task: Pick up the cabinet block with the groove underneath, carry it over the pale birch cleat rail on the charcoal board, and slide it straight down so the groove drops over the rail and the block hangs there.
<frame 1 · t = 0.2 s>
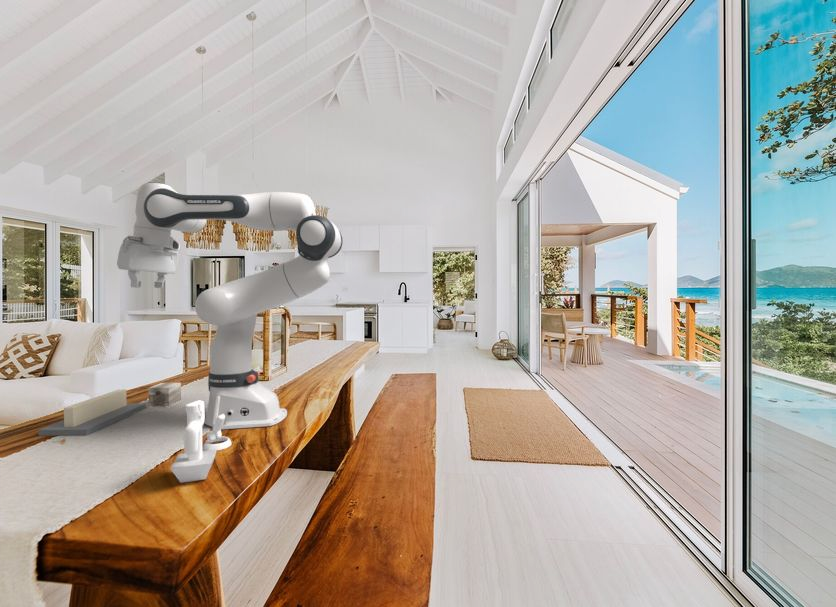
hand: (147, 287, 114), 38 cm above the table, tool pointing down, fingers open, 8 cm apart
hook: (217, 446, 96), on the table
figurine: (195, 477, 80), on the table
cabinet block: (165, 403, 131), on the table
cleat board: (98, 420, 114), on the table
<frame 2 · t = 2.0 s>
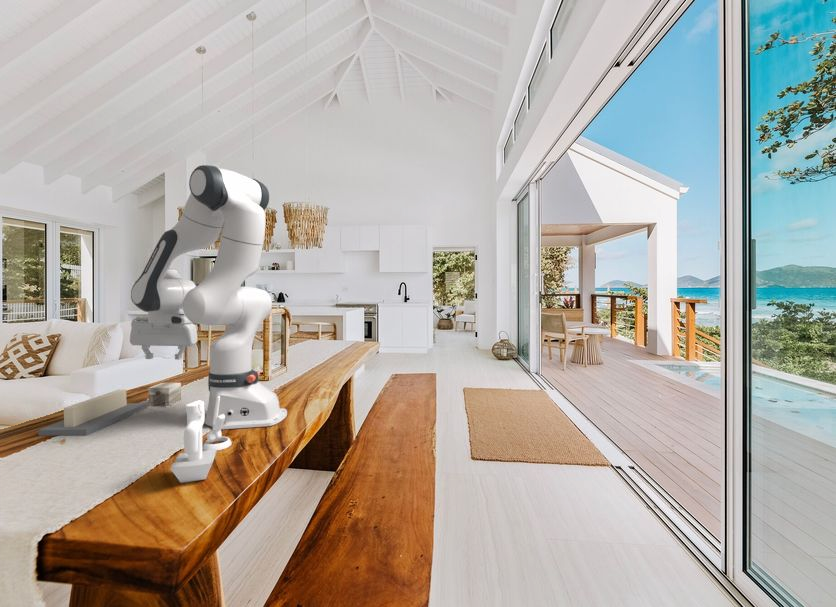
hand: (163, 359, 131), 15 cm above the table, tool pointing down, fingers open, 8 cm apart
nothing on the table moved.
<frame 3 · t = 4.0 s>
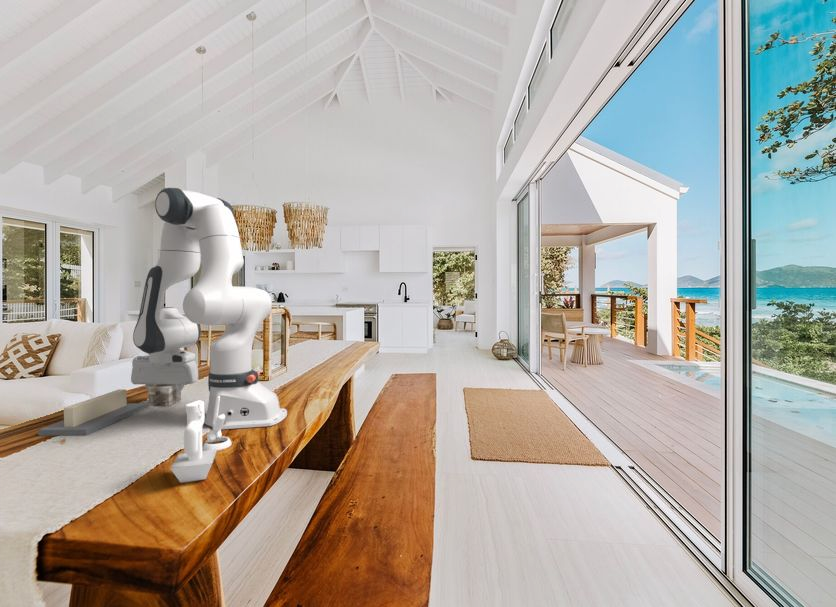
hand: (165, 397, 131), 2 cm above the table, tool pointing down, fingers closed on cabinet block, 6 cm apart
cabinet block: (165, 403, 131), on the table, touching gripper
everything else where it was.
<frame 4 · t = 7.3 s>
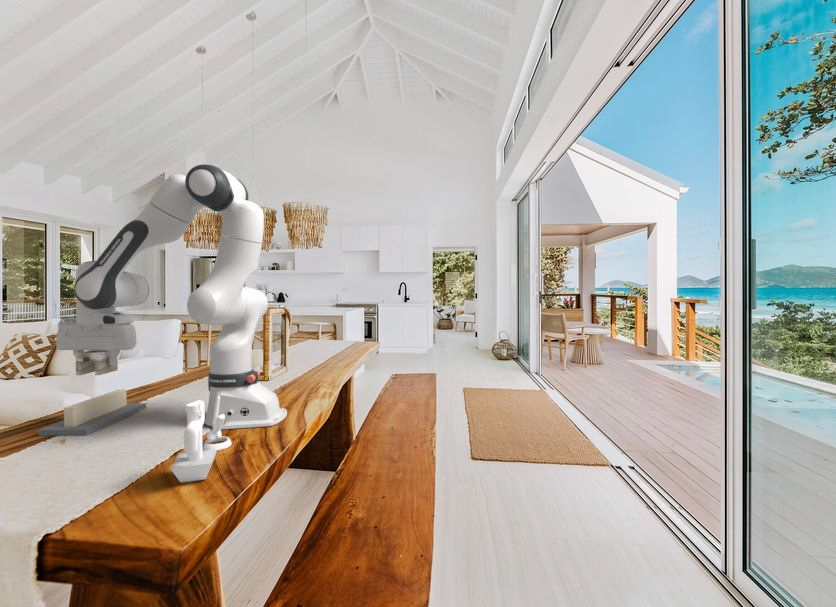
hand: (97, 365, 113), 16 cm above the table, tool pointing down, fingers closed on cabinet block, 6 cm apart
cabinet block: (97, 372, 113), point 14 cm above the table, touching gripper
everything else where it was.
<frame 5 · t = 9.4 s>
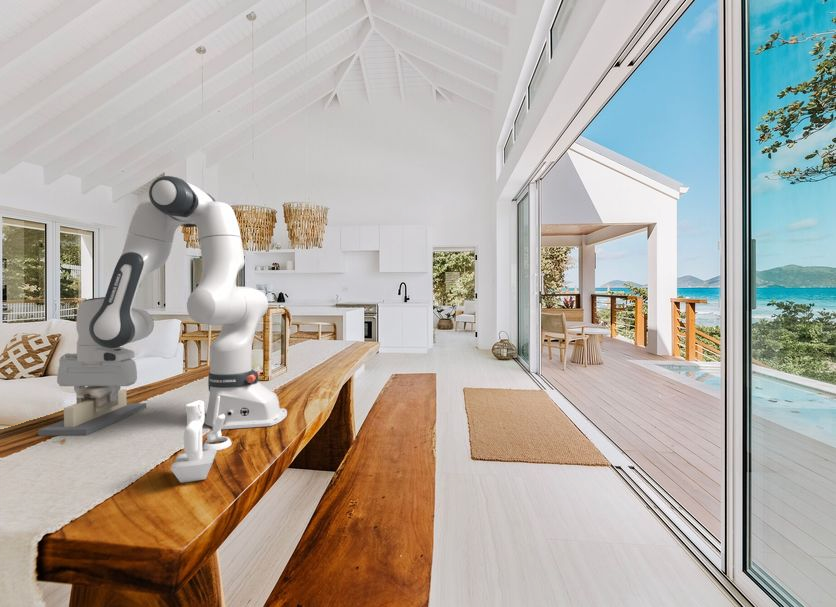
hand: (97, 401, 114), 6 cm above the table, tool pointing down, fingers closed on cabinet block, 6 cm apart
cabinet block: (98, 408, 114), point 3 cm above the table, touching gripper
everything else where it was.
when the fingers open (5 cm above the table, at t = 11.0 s): cabinet block stays where it is, resting on cleat board.
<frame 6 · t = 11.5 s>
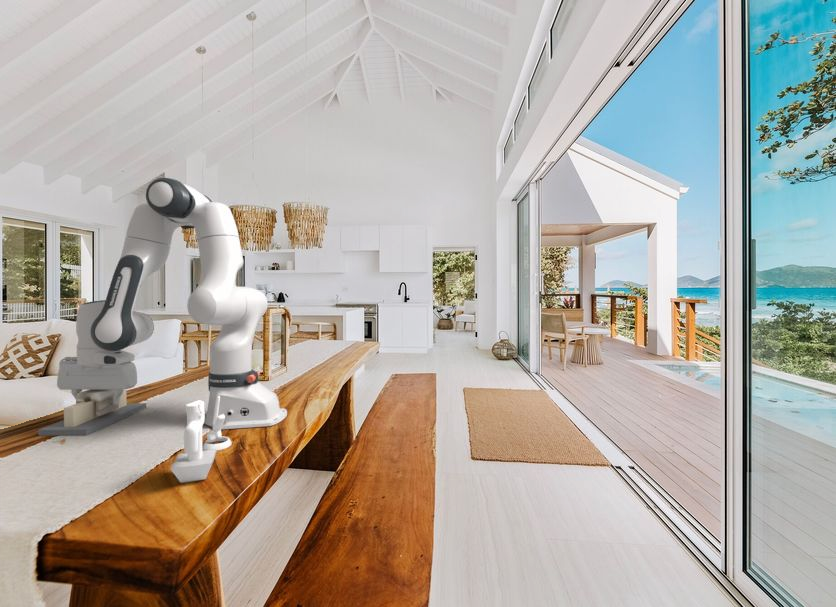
hand: (98, 404, 114), 5 cm above the table, tool pointing down, fingers open, 8 cm apart
cabinet block: (98, 411, 114), point 2 cm above the table, touching cleat board
everything else where it was.
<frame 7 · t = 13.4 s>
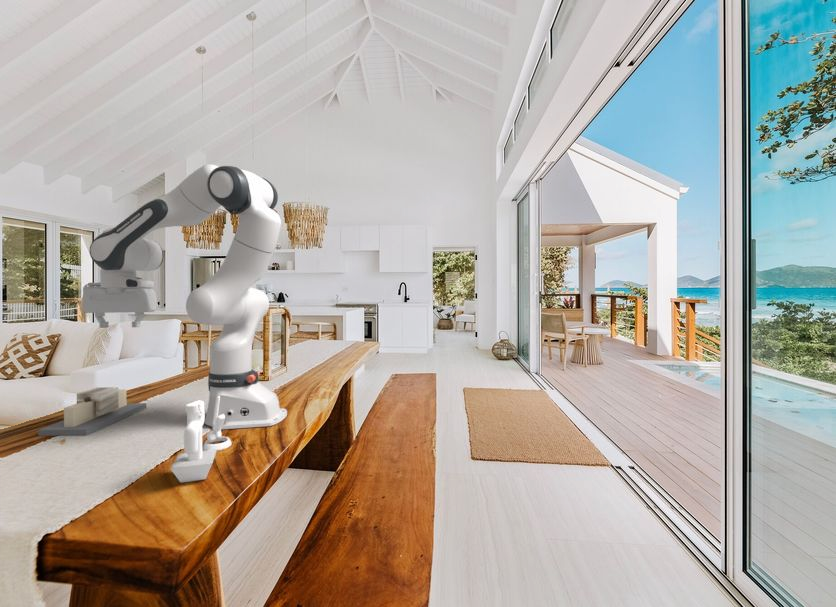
hand: (120, 327, 120), 26 cm above the table, tool pointing down, fingers open, 8 cm apart
nothing on the table moved.
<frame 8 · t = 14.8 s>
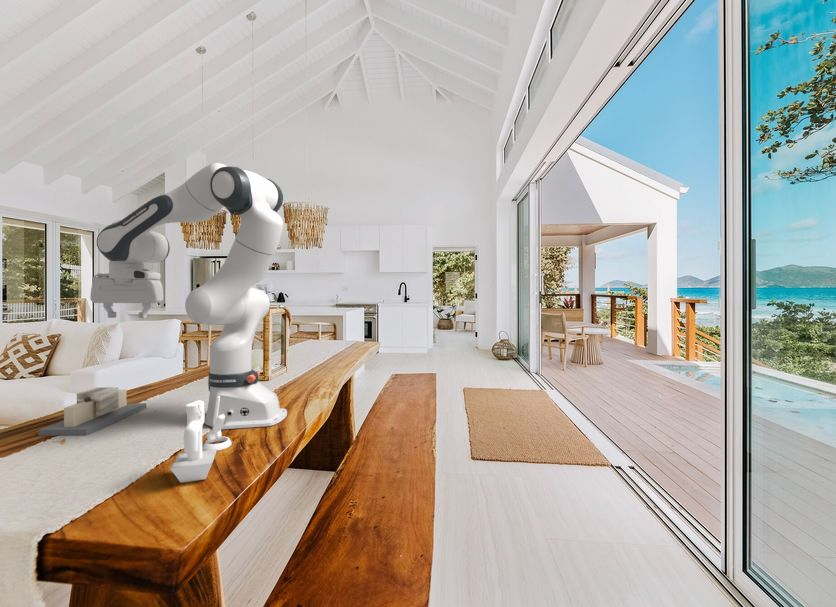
hand: (127, 317, 123), 29 cm above the table, tool pointing down, fingers open, 8 cm apart
nothing on the table moved.
at the end: cabinet block inside the target area on the cleat board (0.1 cm from its centre), point 2.5 cm above the cleat board's base; cabinet block tilted 0°; the gripper is holding nothing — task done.
